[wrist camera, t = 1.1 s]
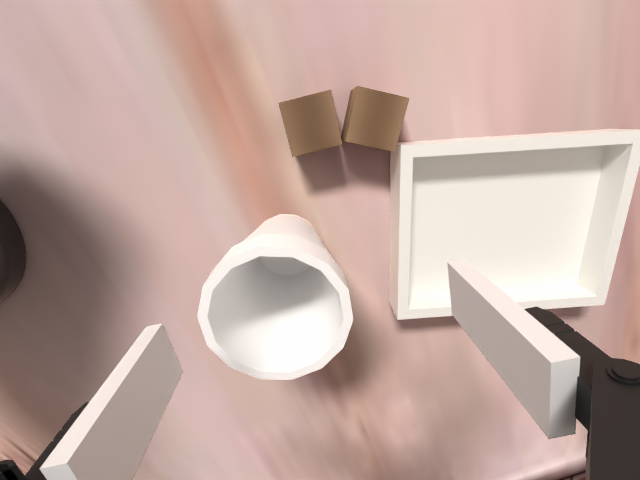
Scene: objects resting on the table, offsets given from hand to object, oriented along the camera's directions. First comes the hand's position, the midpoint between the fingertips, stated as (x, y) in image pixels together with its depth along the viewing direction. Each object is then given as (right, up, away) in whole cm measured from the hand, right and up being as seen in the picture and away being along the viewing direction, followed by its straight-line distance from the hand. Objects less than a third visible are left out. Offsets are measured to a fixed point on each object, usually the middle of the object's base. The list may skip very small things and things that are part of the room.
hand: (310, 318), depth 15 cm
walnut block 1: (0, +14, +14) cm, 20 cm away
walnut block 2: (+5, +14, +14) cm, 20 cm away
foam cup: (-3, +3, +18) cm, 18 cm away
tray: (+17, +5, +17) cm, 25 cm away
